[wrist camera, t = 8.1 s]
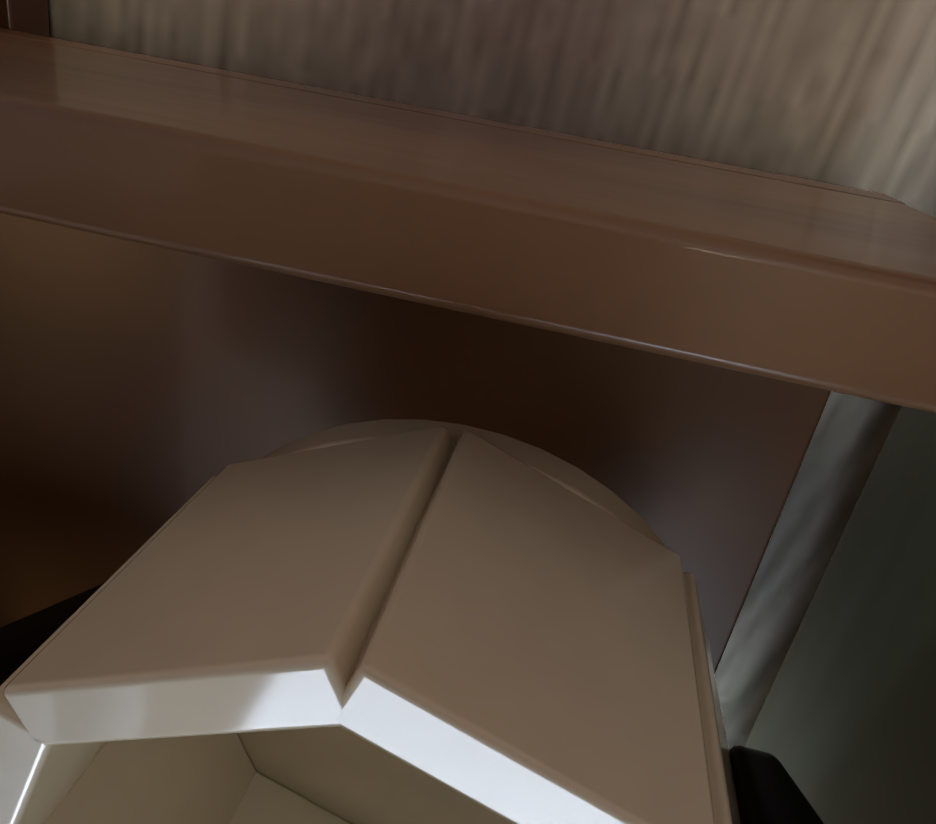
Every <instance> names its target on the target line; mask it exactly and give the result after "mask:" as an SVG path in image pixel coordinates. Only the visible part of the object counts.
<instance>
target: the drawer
mask: <svg viewBox="0 0 936 824" xmlns="http://www.w3.org/2000/svg"><path fill="white" fill-rule="evenodd" d="M831 391H834V392H838V393H843V394H848V395H852V396H857V397H862V398H866V399H871V400H876V401H880V402H885V403H890V404H894V405H899V406H901V408H900V410H899V413H898V415H897V417H896V419H895V421H894V423H893V426H892V428H891V430H890V432H889V434H888V436H887V439H886V441H885V443H884V445H883V447H882V449H881V452H880V454H879V456H878V458H877V460H876V462H875V465H874V467H873V469H872V471H871V473H870V475H869V478H868V480H867V482H866V484H865V486H864V488H863V490H862V493H861V495H860V497H859V499H858V501H857V503H856V506H855V508H854V510H853V512H852V514H851V516H850V519H849V521H848V523H847V525H846V527H845V529H844V532H843V534H842V536H841V538H840V540H839V542H838V545H837V547H836V549H835V551H834V553H833V555H832V558H831V560H830V562H829V564H828V566H827V568H826V571H825V573H824V575H823V577H822V579H821V581H820V583H819V586H818V588H817V590H816V592H815V594H814V596H813V599H812V601H811V603H810V605H809V607H808V609H807V612H806V614H805V616H804V618H803V620H802V622H801V625H800V627H799V629H798V631H797V633H796V635H795V638H794V640H793V642H792V644H791V646H790V648H789V651H788V653H787V655H786V657H785V659H784V661H783V664H782V666H781V668H780V670H779V672H778V674H777V676H776V679H775V681H774V683H773V685H772V687H771V689H770V692H769V694H768V696H767V698H766V700H765V702H764V705H763V707H762V709H761V711H760V713H759V715H758V718H757V720H756V722H755V724H754V726H753V728H752V731H751V733H750V735H749V737H748V739H747V741H746V744H745V746H744V747H748V748H752V749H756V750H759V751H763V752H767V753H770V754H772V755H774V756H775V757H776V758H777V759H778V760H779V761H780V762H781V764H782V765H783V766H784V768H785V769H786V771H787V772H788V774H789V775H790V776H791V778H792V779H793V781H794V782H795V783H796V785H797V786H798V788H799V789H800V790H801V792H802V793H803V795H804V796H805V797H806V799H807V800H808V802H809V803H810V804H811V806H812V807H813V809H814V810H815V811H816V813H817V814H818V816H819V817H820V818H821V820H822V821H823V823H824V824H936V218H934V217H931V216H929V215H927V214H925V213H923V212H920V211H918V210H916V209H914V208H912V207H909V206H907V205H906V204H904V203H903V202H901V201H898V200H896V199H894V198H892V197H889V196H887V195H885V194H882V193H877V192H871V191H866V190H861V189H856V188H850V187H845V186H840V185H834V184H829V183H824V182H818V181H813V180H808V179H802V178H797V177H792V176H786V175H781V174H776V173H770V172H765V171H760V170H754V169H749V168H744V167H738V166H733V165H728V164H722V163H717V162H712V161H706V160H701V159H696V158H690V157H685V156H680V155H674V154H669V153H664V152H658V151H653V150H648V149H643V148H637V147H632V146H627V145H621V144H616V143H611V142H605V141H600V140H595V139H589V138H584V137H579V136H573V135H568V134H563V133H557V132H552V131H547V130H541V129H536V128H531V127H525V126H520V125H515V124H509V123H504V122H499V121H493V120H488V119H483V118H477V117H472V116H467V115H461V114H456V113H451V112H445V111H440V110H435V109H430V108H424V107H419V106H414V105H408V104H403V103H398V102H392V101H387V100H382V99H376V98H371V97H366V96H360V95H355V94H350V93H344V92H339V91H334V90H328V89H323V88H318V87H312V86H307V85H302V84H296V83H291V82H286V81H280V80H275V79H270V78H264V77H259V76H254V75H248V74H243V73H238V72H233V71H227V70H222V69H217V68H211V67H206V66H201V65H195V64H190V63H185V62H179V61H174V60H169V59H163V58H158V57H153V56H147V55H142V54H137V53H131V52H126V51H121V50H115V49H110V48H105V47H99V46H94V45H89V44H83V43H78V42H73V41H67V40H62V39H57V38H51V37H46V36H41V35H35V34H30V33H25V32H20V31H14V30H9V29H4V28H0V628H1V627H3V626H6V625H8V624H10V623H12V622H15V621H17V620H19V619H22V618H24V617H26V616H29V615H31V614H33V613H35V612H38V611H40V610H42V609H45V608H47V607H49V606H52V605H54V604H56V603H58V602H61V601H63V600H65V599H68V598H70V597H72V596H75V595H77V594H79V593H82V592H84V591H86V590H88V589H91V588H93V587H95V586H98V585H100V584H102V583H105V582H106V581H107V580H108V579H109V578H110V577H111V576H112V575H113V574H114V573H115V572H116V571H117V570H118V569H119V568H120V567H121V566H122V565H123V564H124V563H125V562H126V561H127V560H128V559H129V558H130V557H131V556H132V555H133V554H134V553H135V552H136V551H137V550H138V549H139V548H140V547H141V546H142V545H143V544H144V543H145V542H146V541H147V540H148V539H149V538H150V537H151V536H152V535H153V534H154V533H155V532H156V531H157V530H158V529H159V528H160V527H161V526H162V525H163V524H164V523H165V522H166V521H167V520H168V519H169V518H170V517H171V516H172V515H174V514H175V513H176V512H177V511H178V510H179V509H180V508H181V507H182V506H183V505H184V504H185V503H186V502H187V501H188V500H189V499H190V498H191V497H192V496H193V495H194V494H195V493H196V492H197V491H198V490H199V489H200V488H201V487H202V486H203V485H204V484H205V483H206V482H207V481H208V480H209V479H210V478H211V477H213V476H217V475H218V474H219V473H220V472H221V471H222V470H223V469H224V468H225V467H226V466H228V465H230V464H236V463H241V462H247V461H252V460H258V459H261V458H262V457H264V456H266V455H267V454H269V453H271V452H272V451H274V450H276V449H277V448H279V447H280V446H282V445H285V444H287V443H290V442H292V441H294V440H297V439H299V438H301V437H304V436H306V435H309V434H311V433H314V432H318V431H322V430H325V429H329V428H333V427H337V426H341V425H345V424H350V423H358V422H367V421H375V420H383V419H425V420H433V421H441V422H449V423H457V424H464V425H468V426H472V427H476V428H480V429H484V430H488V431H492V432H496V433H500V434H504V435H506V436H509V437H512V438H514V439H517V440H520V441H522V442H525V443H528V444H530V445H533V446H536V447H538V448H541V449H543V450H545V451H547V452H549V453H551V454H553V455H555V456H556V457H558V458H560V459H562V460H564V461H566V462H568V463H570V464H572V465H574V466H576V467H578V468H579V469H581V470H582V471H584V472H585V473H586V474H588V475H589V476H591V477H592V478H594V479H595V480H597V481H598V482H600V483H601V484H603V485H604V486H606V487H607V488H609V489H610V490H611V491H612V492H614V493H615V494H616V495H617V496H618V497H619V498H620V499H621V500H623V501H624V502H625V503H626V504H627V505H628V506H629V507H631V508H632V509H633V510H634V511H635V512H636V513H637V514H639V515H640V516H641V517H642V518H643V519H644V521H645V522H646V523H647V524H648V525H649V526H650V527H651V529H652V530H653V531H654V532H655V533H656V534H657V535H658V537H659V538H660V539H661V540H662V541H663V542H664V543H665V545H666V546H667V548H668V549H669V550H671V551H673V552H674V553H676V554H678V555H679V556H680V558H681V559H682V567H683V572H684V573H685V572H689V573H692V574H693V576H694V577H695V578H696V583H697V588H698V593H699V598H700V604H701V609H702V614H703V619H704V623H705V627H706V630H707V634H708V638H709V645H710V651H711V657H712V665H713V670H714V674H715V672H716V669H717V667H718V664H719V662H720V660H721V657H722V655H723V652H724V650H725V648H726V645H727V643H728V640H729V638H730V635H731V633H732V631H733V628H734V626H735V623H736V621H737V618H738V616H739V614H740V611H741V609H742V606H743V604H744V601H745V599H746V597H747V594H748V592H749V589H750V587H751V584H752V582H753V580H754V577H755V575H756V572H757V570H758V567H759V565H760V563H761V560H762V558H763V555H764V553H765V550H766V548H767V546H768V543H769V541H770V538H771V536H772V533H773V531H774V529H775V526H776V524H777V521H778V519H779V516H780V514H781V512H782V509H783V507H784V504H785V502H786V500H787V497H788V495H789V492H790V490H791V487H792V485H793V483H794V480H795V478H796V475H797V473H798V470H799V468H800V466H801V463H802V461H803V458H804V456H805V453H806V451H807V449H808V446H809V444H810V441H811V439H812V436H813V434H814V432H815V429H816V427H817V424H818V422H819V419H820V417H821V415H822V412H823V410H824V407H825V405H826V402H827V400H828V398H829V395H830V393H831Z"/></svg>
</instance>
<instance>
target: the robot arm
mask: <svg viewBox="0 0 936 824" xmlns="http://www.w3.org/2000/svg"><path fill="white" fill-rule="evenodd" d="M103 584H104V583H102V584H100V585H98V586H95V587H93V588H91V589H88V590H86V591H84V592H82V593H79V594H77V595H75V596H72V597H70V598H68V599H65V600H63V601H61V602H58V603H56V604H54V605H52V606H49V607H47V608H45V609H42V610H40V611H38V612H35V613H33V614H31V615H29V616H26V617H24V618H22V619H19V620H17V621H15V622H12V623H10V624H8V625H6V626H3V627H1V628H0V685H1V684H2V683H3V682H4V681H5V680H6V679H7V678H8V677H9V676H10V675H11V674H12V673H13V672H14V671H15V670H16V669H17V668H18V667H19V666H20V665H21V664H22V663H23V662H24V661H26V660H27V659H28V658H29V657H30V656H31V655H32V654H33V653H34V652H35V651H36V650H37V649H38V648H39V647H40V646H41V645H42V644H43V643H44V642H45V641H46V640H47V639H48V638H49V637H50V636H51V635H52V634H53V633H54V632H55V631H56V630H57V629H58V628H59V627H60V626H61V625H62V624H63V623H64V622H65V621H66V620H67V619H68V618H69V617H70V616H71V615H72V614H73V613H74V612H75V611H76V610H77V609H78V608H79V607H80V606H81V605H82V604H83V603H84V602H85V601H86V600H87V599H88V598H89V597H90V596H91V595H92V594H93V593H94V592H95V591H96V590H97V589H98V588H100V587H101V586H102V585H103ZM729 752H730V758H731V764H732V770H733V777H734V783H735V789H736V795H737V801H738V808H739V814H740V820H741V824H824V823H823V821H822V820H821V818H820V817H819V816H818V814H817V813H816V811H815V810H814V809H813V807H812V806H811V804H810V803H809V802H808V800H807V799H806V797H805V796H804V795H803V793H802V792H801V790H800V789H799V788H798V786H797V785H796V783H795V782H794V781H793V779H792V778H791V776H790V775H789V774H788V772H787V771H786V769H785V768H784V766H783V765H782V764H781V762H780V761H779V760H778V759H777V758H776V757H775V756H774V755H772V754H770V753H767V752H763V751H759V750H756V749H752V748H748V747H744V746H740V745H739V746H734V747H732V748H731V749H730V750H729Z"/></svg>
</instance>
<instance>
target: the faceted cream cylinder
mask: <svg viewBox="0 0 936 824" xmlns="http://www.w3.org/2000/svg"><path fill="white" fill-rule="evenodd" d="M0 824H741V820H740V814H739V808H738V801H737V795H736V789H735V783H734V777H733V770H732V764H731V758H730V752H729V747H728V742H727V736H726V731H725V726H724V721H723V716H722V711H721V706H720V701H719V696H718V690H717V685H716V680H715V675H714V670H713V665H712V657H711V651H710V645H709V638H708V634H707V630H706V627H705V623H704V619H703V614H702V609H701V604H700V598H699V593H698V588H697V583H696V578H695V577H694V576H693V574H692V573H689V572H685V573H684V572H683V567H682V559H681V558H680V556H679V555H678V554H676V553H674V552H673V551H671V550H669V549H668V548H667V546H666V545H665V543H664V542H663V541H662V540H661V539H660V538H659V537H658V535H657V534H656V533H655V532H654V531H653V530H652V529H651V527H650V526H649V525H648V524H647V523H646V522H645V521H644V519H643V518H642V517H641V516H640V515H639V514H637V513H636V512H635V511H634V510H633V509H632V508H631V507H629V506H628V505H627V504H626V503H625V502H624V501H623V500H621V499H620V498H619V497H618V496H617V495H616V494H615V493H614V492H612V491H611V490H610V489H609V488H607V487H606V486H604V485H603V484H601V483H600V482H598V481H597V480H595V479H594V478H592V477H591V476H589V475H588V474H586V473H585V472H584V471H582V470H581V469H579V468H578V467H576V466H574V465H572V464H570V463H568V462H566V461H564V460H562V459H560V458H558V457H556V456H555V455H553V454H551V453H549V452H547V451H545V450H543V449H541V448H538V447H536V446H533V445H530V444H528V443H525V442H522V441H520V440H517V439H514V438H512V437H509V436H506V435H504V434H500V433H496V432H492V431H488V430H484V429H480V428H476V427H472V426H468V425H464V424H457V423H449V422H441V421H433V420H425V419H383V420H375V421H367V422H358V423H350V424H345V425H341V426H337V427H333V428H329V429H325V430H322V431H318V432H314V433H311V434H309V435H306V436H304V437H301V438H299V439H297V440H294V441H292V442H290V443H287V444H285V445H282V446H280V447H279V448H277V449H276V450H274V451H272V452H271V453H269V454H267V455H266V456H264V457H262V458H261V459H258V460H252V461H247V462H241V463H236V464H230V465H228V466H226V467H225V468H224V469H223V470H222V471H221V472H220V473H219V474H218V475H217V476H213V477H211V478H210V479H209V480H208V481H207V482H206V483H205V484H204V485H203V486H202V487H201V488H200V489H199V490H198V491H197V492H196V493H195V494H194V495H193V496H192V497H191V498H190V499H189V500H188V501H187V502H186V503H185V504H184V505H183V506H182V507H181V508H180V509H179V510H178V511H177V512H176V513H175V514H174V515H172V516H171V517H170V518H169V519H168V520H167V521H166V522H165V523H164V524H163V525H162V526H161V527H160V528H159V529H158V530H157V531H156V532H155V533H154V534H153V535H152V536H151V537H150V538H149V539H148V540H147V541H146V542H145V543H144V544H143V545H142V546H141V547H140V548H139V549H138V550H137V551H136V552H135V553H134V554H133V555H132V556H131V557H130V558H129V559H128V560H127V561H126V562H125V563H124V564H123V565H122V566H121V567H120V568H119V569H118V570H117V571H116V572H115V573H114V574H113V575H112V576H111V577H110V578H109V579H108V580H107V581H106V582H105V583H104V584H103V585H102V586H101V587H100V588H98V589H97V590H96V591H95V592H94V593H93V594H92V595H91V596H90V597H89V598H88V599H87V600H86V601H85V602H84V603H83V604H82V605H81V606H80V607H79V608H78V609H77V610H76V611H75V612H74V613H73V614H72V615H71V616H70V617H69V618H68V619H67V620H66V621H65V622H64V623H63V624H62V625H61V626H60V627H59V628H58V629H57V630H56V631H55V632H54V633H53V634H52V635H51V636H50V637H49V638H48V639H47V640H46V641H45V642H44V643H43V644H42V645H41V646H40V647H39V648H38V649H37V650H36V651H35V652H34V653H33V654H32V655H31V656H30V657H29V658H28V659H27V660H26V661H24V662H23V663H22V664H21V665H20V666H19V667H18V668H17V669H16V670H15V671H14V672H13V673H12V674H11V675H10V676H9V677H8V678H7V679H6V680H5V681H4V682H3V683H2V684H1V685H0Z"/></svg>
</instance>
